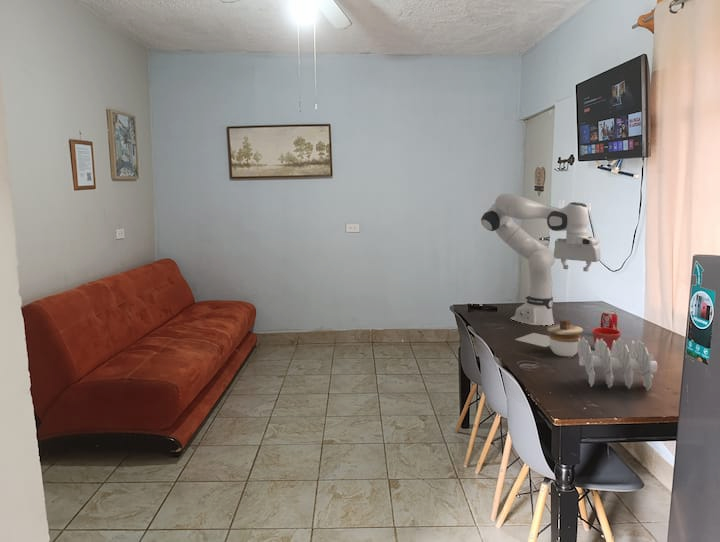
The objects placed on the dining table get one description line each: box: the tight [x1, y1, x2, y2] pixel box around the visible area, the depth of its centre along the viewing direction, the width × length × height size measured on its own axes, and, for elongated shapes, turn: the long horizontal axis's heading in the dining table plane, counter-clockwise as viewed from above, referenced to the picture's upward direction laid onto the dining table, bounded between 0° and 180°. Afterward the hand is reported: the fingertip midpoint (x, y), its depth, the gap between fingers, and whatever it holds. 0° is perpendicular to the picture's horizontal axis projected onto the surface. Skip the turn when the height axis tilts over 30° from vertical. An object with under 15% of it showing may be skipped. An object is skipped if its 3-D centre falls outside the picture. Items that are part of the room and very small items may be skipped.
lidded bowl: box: [548, 332, 582, 359], centre depth 217 cm, size 13×13×11 cm
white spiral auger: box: [577, 336, 658, 391], centre depth 183 cm, size 18×18×25 cm
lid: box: [546, 318, 584, 335], centre depth 216 cm, size 14×14×4 cm
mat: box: [514, 332, 550, 348], centre depth 238 cm, size 16×16×1 cm
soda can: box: [600, 310, 618, 330], centre depth 242 cm, size 7×7×12 cm
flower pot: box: [592, 327, 622, 350], centre depth 220 cm, size 11×11×10 cm
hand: (575, 270), depth 229 cm, fingers open, 8 cm apart
